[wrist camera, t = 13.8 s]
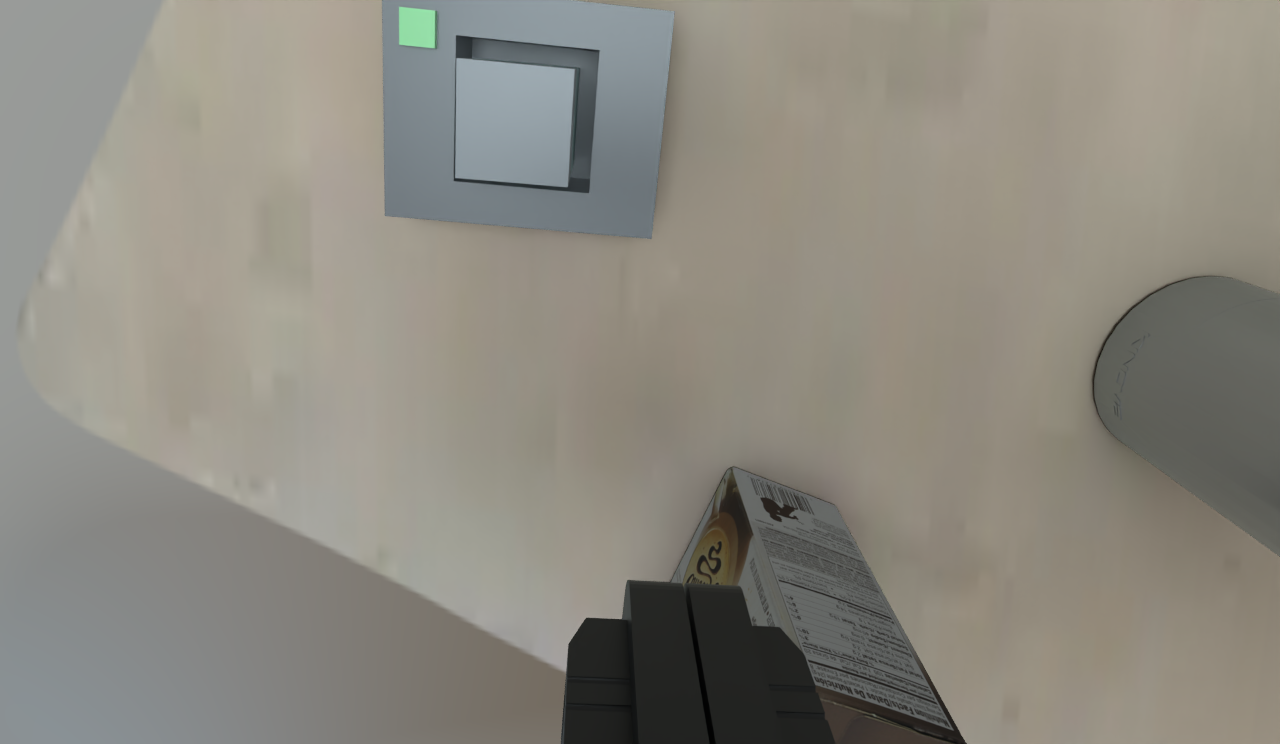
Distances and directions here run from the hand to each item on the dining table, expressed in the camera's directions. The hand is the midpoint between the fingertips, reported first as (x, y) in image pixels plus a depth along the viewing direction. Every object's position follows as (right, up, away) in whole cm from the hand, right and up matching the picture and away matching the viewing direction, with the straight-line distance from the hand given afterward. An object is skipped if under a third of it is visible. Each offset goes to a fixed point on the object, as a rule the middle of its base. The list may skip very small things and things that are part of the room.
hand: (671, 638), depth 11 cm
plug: (-5, +14, +22) cm, 27 cm away
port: (-5, +15, +23) cm, 28 cm away
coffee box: (+5, -6, +32) cm, 33 cm away
